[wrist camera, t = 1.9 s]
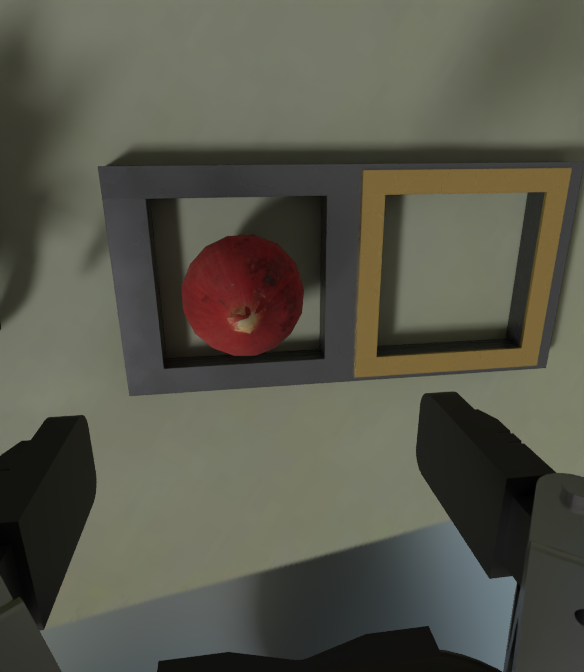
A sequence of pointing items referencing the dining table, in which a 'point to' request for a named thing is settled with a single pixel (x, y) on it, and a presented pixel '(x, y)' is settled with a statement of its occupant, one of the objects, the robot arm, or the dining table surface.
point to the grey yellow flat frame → (337, 269)
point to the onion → (243, 295)
